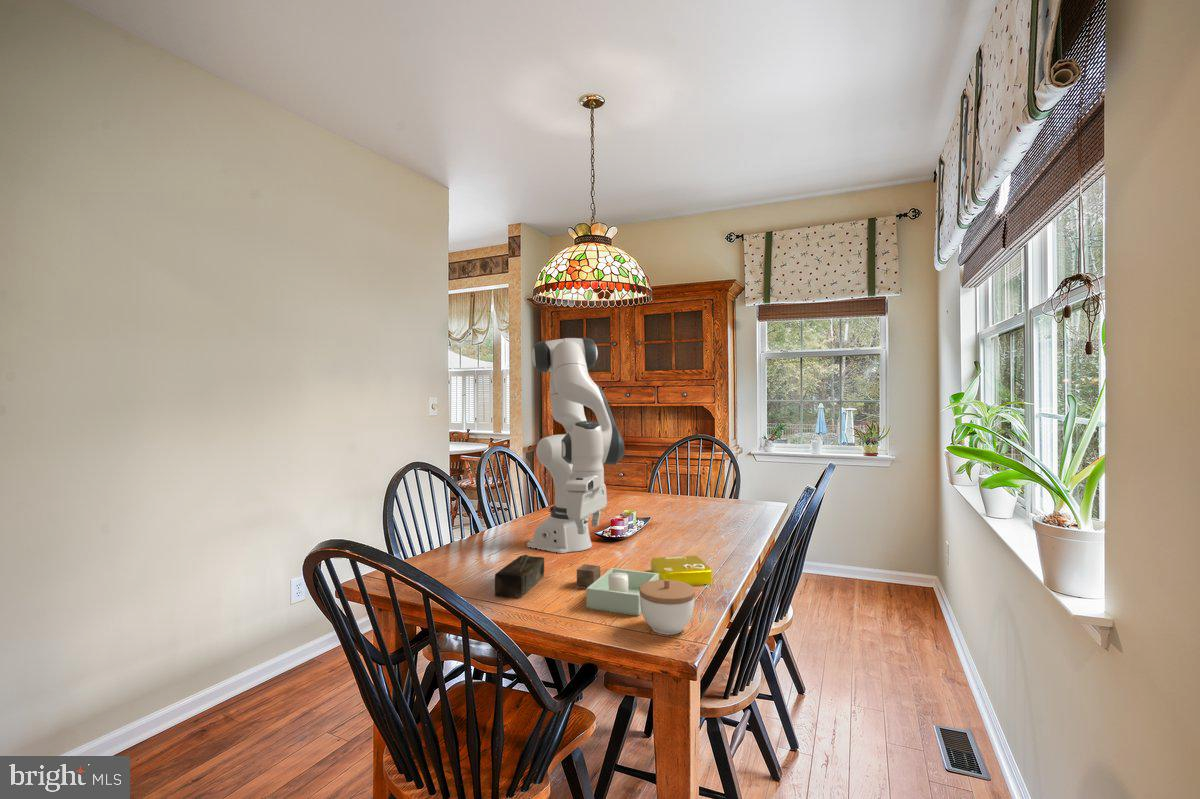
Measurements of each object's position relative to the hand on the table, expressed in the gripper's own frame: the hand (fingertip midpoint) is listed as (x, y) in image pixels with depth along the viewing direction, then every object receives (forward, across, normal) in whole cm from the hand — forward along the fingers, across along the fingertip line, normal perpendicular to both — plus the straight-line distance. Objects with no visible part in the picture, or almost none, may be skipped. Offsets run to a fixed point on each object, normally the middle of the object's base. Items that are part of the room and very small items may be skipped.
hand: (588, 529), depth 161 cm
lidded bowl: (+16, +20, +28) cm, 38 cm away
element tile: (+16, -16, +22) cm, 32 cm away
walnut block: (+16, 0, 0) cm, 16 cm away
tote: (+16, +7, +13) cm, 21 cm away
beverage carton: (+16, +7, -18) cm, 25 cm away
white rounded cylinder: (+15, +11, +13) cm, 22 cm away
